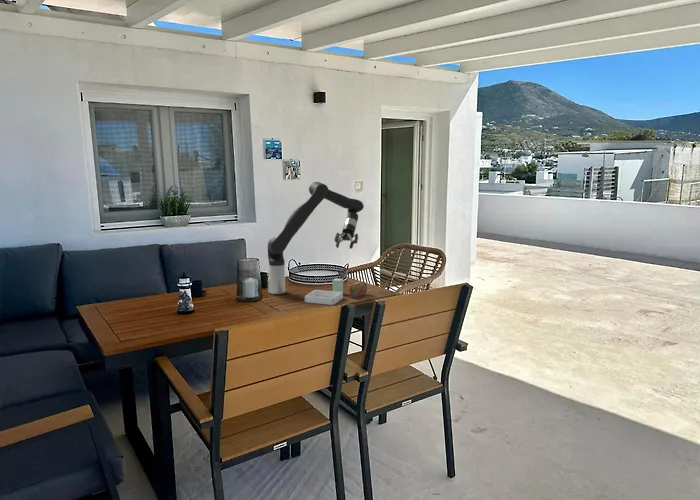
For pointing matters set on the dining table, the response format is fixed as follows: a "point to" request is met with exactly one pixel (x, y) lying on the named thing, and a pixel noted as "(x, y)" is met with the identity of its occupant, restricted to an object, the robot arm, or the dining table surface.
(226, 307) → the dining table surface
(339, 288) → the green block
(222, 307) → the dining table surface
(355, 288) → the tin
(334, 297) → the tray
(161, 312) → the dining table surface
